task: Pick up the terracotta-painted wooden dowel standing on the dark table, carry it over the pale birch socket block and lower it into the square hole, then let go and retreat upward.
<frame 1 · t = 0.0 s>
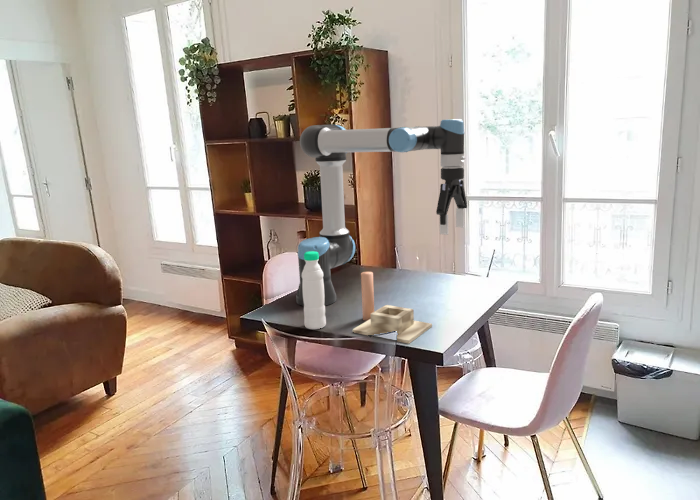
hand: (452, 230, 184), 28 cm above the table, fingers open, 13 cm apart
dowel: (368, 318, 185), on the table
socket block: (392, 329, 174), on the table
water bottle: (315, 326, 180), on the table
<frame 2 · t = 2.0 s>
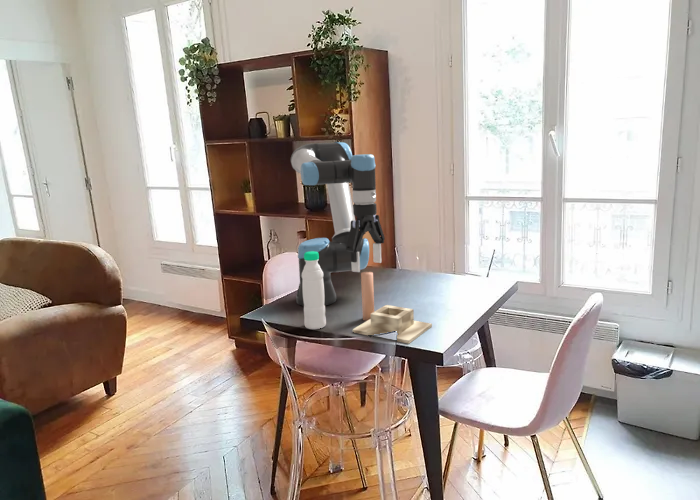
hand: (367, 266, 181), 18 cm above the table, fingers open, 13 cm apart
nothing on the table moved.
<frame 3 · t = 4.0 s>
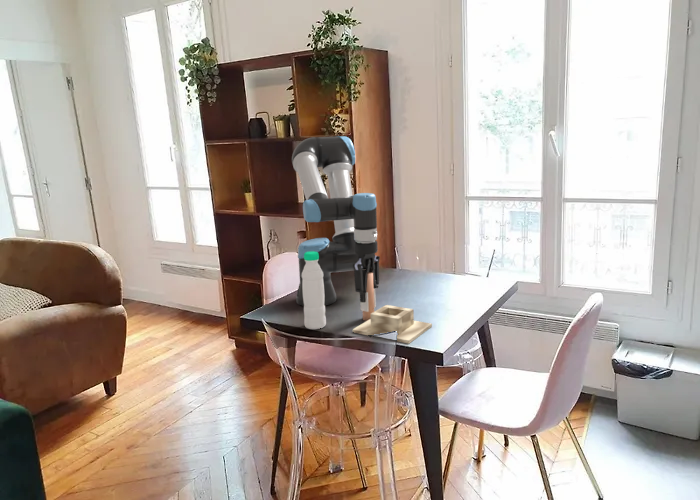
hand: (368, 308, 184), 4 cm above the table, fingers closed on dowel, 4 cm apart
dowel: (368, 318, 185), on the table, touching gripper
everything else where it was.
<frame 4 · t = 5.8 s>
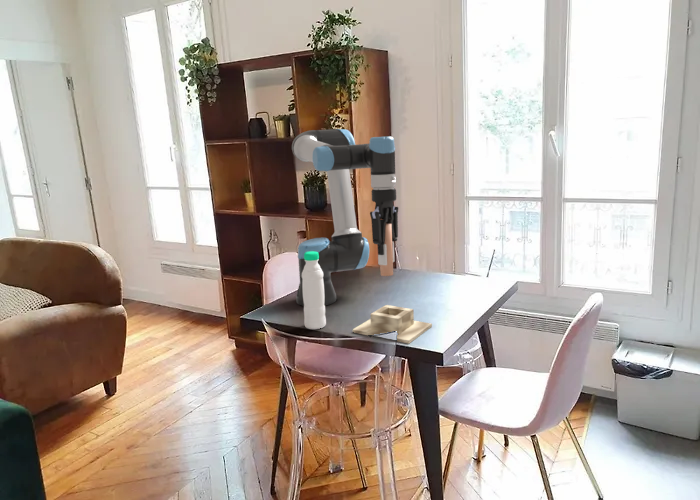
hand: (386, 263, 171), 22 cm above the table, fingers closed on dowel, 4 cm apart
dowel: (386, 274, 172), point 18 cm above the table, touching gripper
everything else where it was.
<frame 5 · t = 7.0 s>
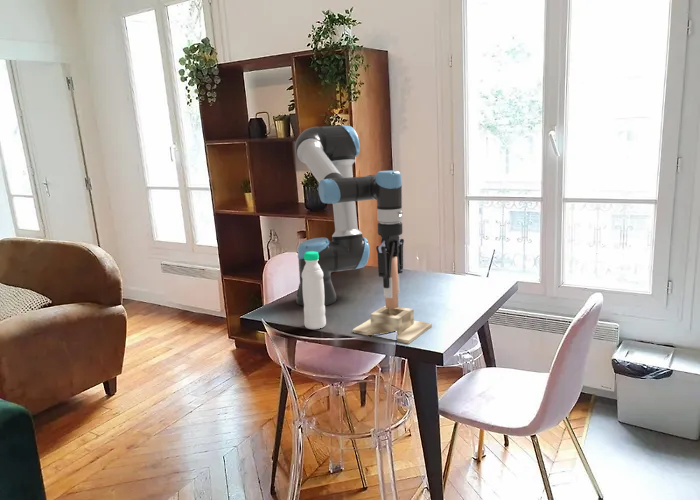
hand: (391, 295, 172), 11 cm above the table, fingers closed on dowel, 4 cm apart
dowel: (392, 306, 172), point 8 cm above the table, touching gripper
everything else where it was.
when the fingers open (8 cm above the table, at t = 8.0 s): dowel drops 2 cm, resting on socket block.
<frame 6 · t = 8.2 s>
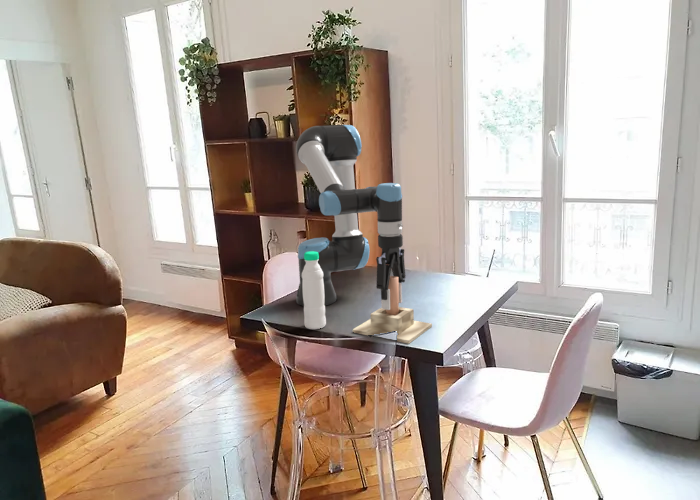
hand: (391, 305, 172), 8 cm above the table, fingers open, 7 cm apart
dowel: (392, 326, 174), point 1 cm above the table, touching socket block
everything else where it was.
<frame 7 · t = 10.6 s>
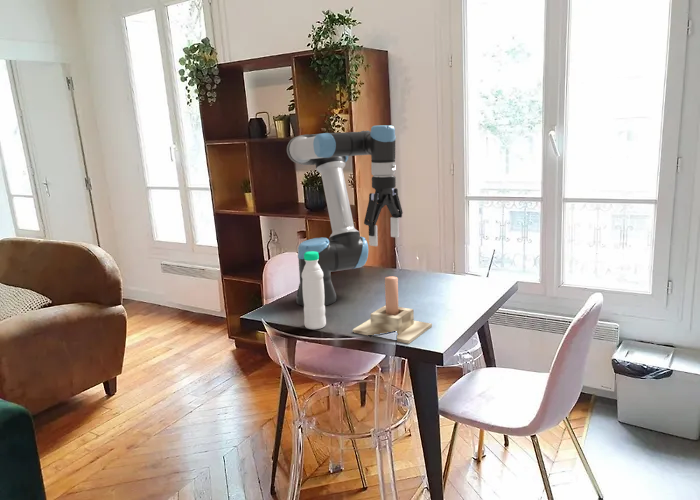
hand: (384, 241, 177), 27 cm above the table, fingers open, 13 cm apart
nothing on the table moved.
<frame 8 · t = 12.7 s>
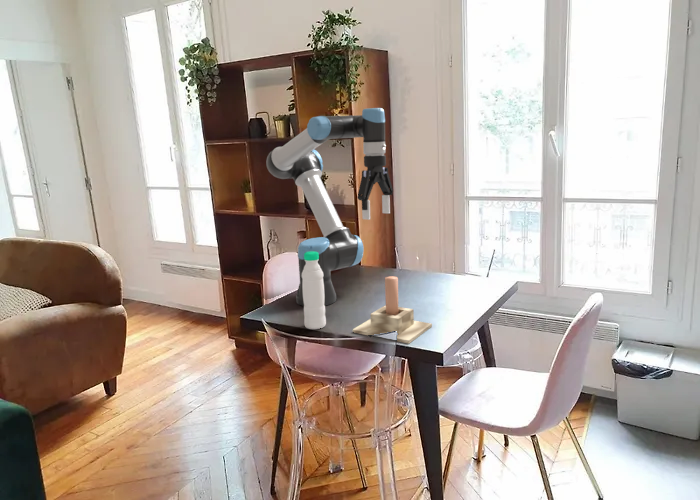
hand: (376, 216, 191), 33 cm above the table, fingers open, 13 cm apart
nothing on the table moved.
at the end: dowel 0.1 cm off-centre on the socket block, point 1.0 cm above the socket block's base; dowel tilted 0°; the gripper is holding nothing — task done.
